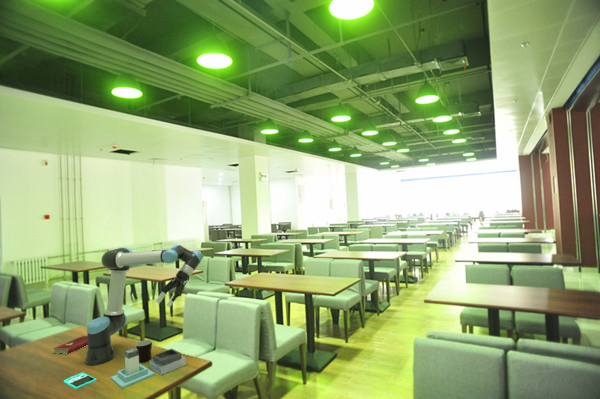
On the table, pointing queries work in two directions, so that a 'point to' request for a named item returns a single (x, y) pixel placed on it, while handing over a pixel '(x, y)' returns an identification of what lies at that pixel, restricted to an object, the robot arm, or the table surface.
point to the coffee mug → (144, 350)
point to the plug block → (131, 361)
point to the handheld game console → (79, 380)
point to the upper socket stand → (167, 361)
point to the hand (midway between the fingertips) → (162, 304)
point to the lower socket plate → (132, 376)
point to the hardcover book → (72, 345)
